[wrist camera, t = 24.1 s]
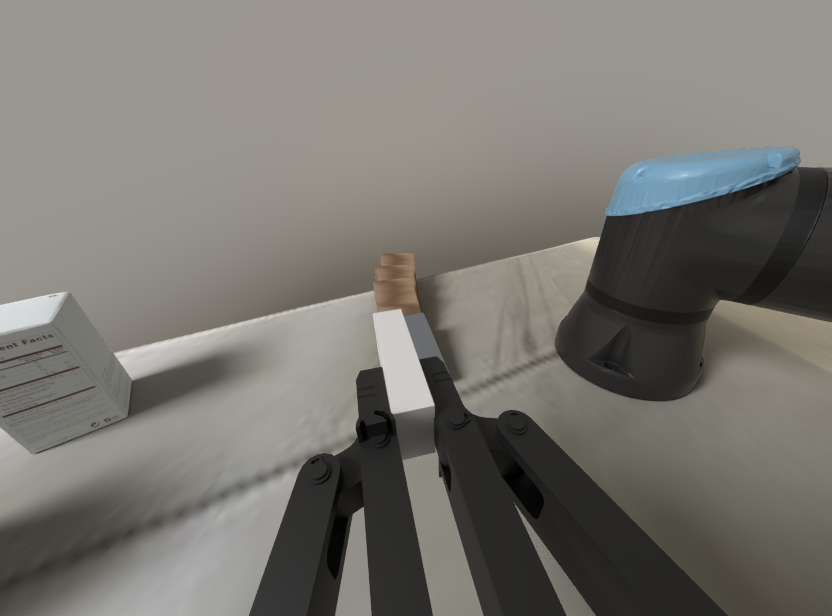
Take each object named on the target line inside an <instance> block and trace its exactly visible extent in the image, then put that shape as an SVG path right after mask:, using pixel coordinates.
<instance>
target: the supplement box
mask: <svg viewBox="0 0 832 616" xmlns="http://www.w3.org/2000/svg"><path fill="white" fill-rule="evenodd" d="M131 384H132V379H131V378H130V376H129V375H128V373H127V372H126V371H125V369H124V368H123V366H122V365H121V363H120V362H119V361H118V359H117V358H116V356H115V355H114V354H113V352H112V351H111V349H110V348H109V346H108V345H107V344H106V342H105V341H104V339H103V338H102V337H101V335H100V334H99V332H98V331H97V330H96V328H95V327H94V326H93V324H92V323H91V321H90V320H89V318H88V317H87V315H86V314H85V313H84V311H83V310H82V308H81V307H80V305H79V304H78V303H77V301H76V300H75V298H74V297H73V296H72V294H71V293H70V292H61V293H56V294H51V295H45V296H40V297H36V298H31V299H27V300H22V301H17V302H13V303H8V304H4V305H0V428H1V429H3V430H4V431H5V432H6V433H7V434H8V435H9V436H11V437H12V438H13V439H14V440H15V441H16V442H18V443H19V444H20V445H21V446H22V447H23V448H24V449H26V450H27V451H28V452H29V453H31V454H33V453H37V452H40V451H42V450H45V449H48V448H51V447H53V446H56V445H58V444H61V443H64V442H66V441H69V440H71V439H74V438H76V437H79V436H82V435H84V434H87V433H89V432H92V431H94V430H97V429H100V428H102V427H105V426H107V425H110V424H112V423H115V422H117V421H120V420H122V419H124V418H126V417H127V416H128V410H129V401H130V393H131Z"/></svg>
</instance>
